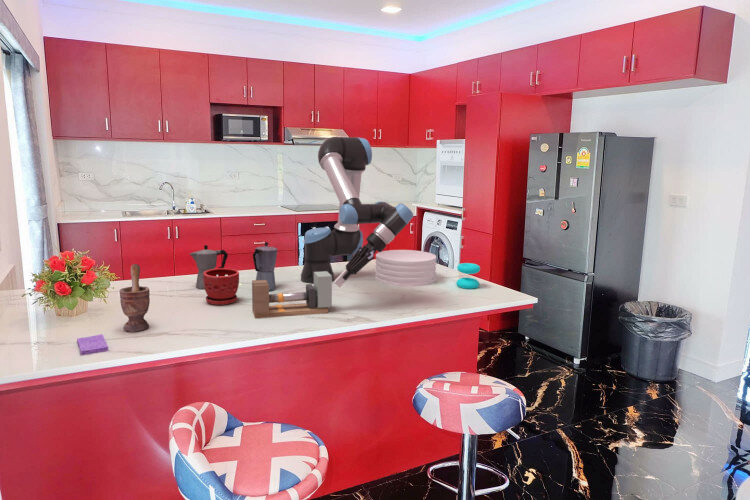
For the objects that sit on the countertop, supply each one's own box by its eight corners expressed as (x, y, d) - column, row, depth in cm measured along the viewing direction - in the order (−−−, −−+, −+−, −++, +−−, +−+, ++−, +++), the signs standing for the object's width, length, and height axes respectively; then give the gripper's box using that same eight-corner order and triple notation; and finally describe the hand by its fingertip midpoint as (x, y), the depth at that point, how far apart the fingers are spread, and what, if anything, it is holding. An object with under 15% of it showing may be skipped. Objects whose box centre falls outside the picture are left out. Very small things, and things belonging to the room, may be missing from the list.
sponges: (81, 357, 145) (80, 350, 145) (77, 343, 155) (76, 337, 155) (109, 352, 149) (108, 346, 149) (103, 339, 159) (102, 333, 159)
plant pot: (196, 304, 196) (195, 273, 194) (219, 295, 208) (218, 266, 206) (225, 308, 191) (224, 276, 189) (246, 299, 203) (246, 269, 201)
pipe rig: (252, 310, 189) (251, 280, 187) (322, 305, 197) (322, 276, 195) (254, 318, 181) (254, 286, 179) (327, 312, 189) (328, 282, 187)
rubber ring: (306, 302, 194) (305, 284, 193) (311, 302, 194) (311, 284, 193) (309, 307, 187) (309, 289, 186) (315, 307, 188) (315, 288, 187)
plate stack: (445, 278, 247) (446, 254, 245) (417, 290, 224) (418, 264, 222) (394, 270, 262) (395, 247, 260) (363, 280, 239) (364, 256, 237)
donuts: (464, 261, 236) (484, 264, 231) (462, 282, 238) (482, 286, 232) (453, 264, 229) (473, 268, 223) (452, 286, 230) (472, 290, 225)
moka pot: (284, 286, 225) (283, 240, 221) (265, 295, 210) (264, 246, 207) (264, 284, 228) (264, 239, 224) (245, 292, 213) (244, 244, 210)
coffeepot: (191, 290, 214) (189, 247, 211) (190, 285, 223) (188, 244, 219) (230, 287, 220) (229, 246, 217) (227, 282, 229) (226, 242, 225)
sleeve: (313, 301, 195) (313, 271, 193) (326, 300, 197) (326, 271, 195) (318, 307, 188) (318, 276, 186) (331, 306, 189) (331, 276, 187)
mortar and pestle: (116, 324, 171) (112, 265, 167) (144, 320, 176) (140, 262, 173) (126, 334, 162) (122, 272, 158) (155, 329, 168) (151, 268, 164)
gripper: (392, 248, 190) (348, 295, 187) (380, 242, 202) (339, 286, 199) (379, 234, 187) (334, 282, 185) (367, 229, 199) (325, 274, 197)
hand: (336, 284), depth 192 cm, fingers closed
